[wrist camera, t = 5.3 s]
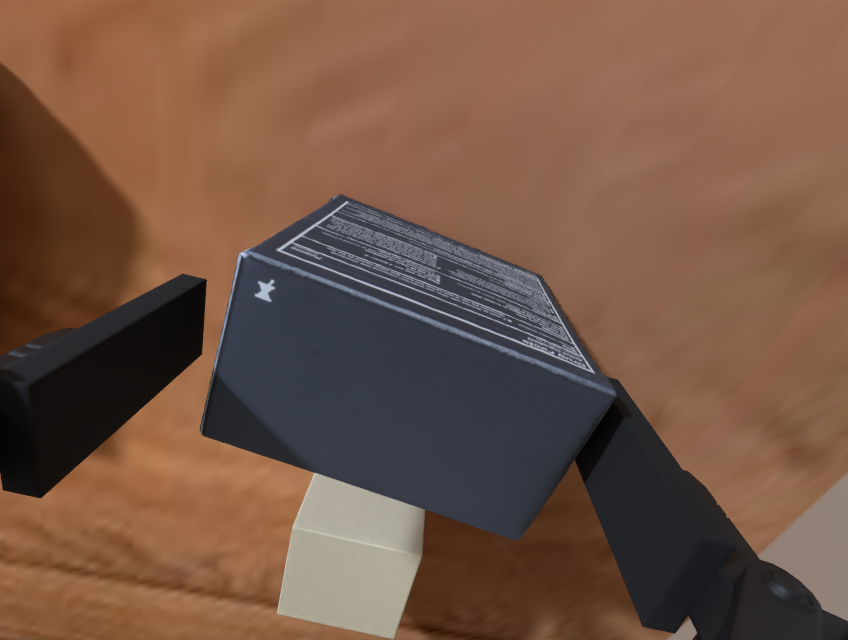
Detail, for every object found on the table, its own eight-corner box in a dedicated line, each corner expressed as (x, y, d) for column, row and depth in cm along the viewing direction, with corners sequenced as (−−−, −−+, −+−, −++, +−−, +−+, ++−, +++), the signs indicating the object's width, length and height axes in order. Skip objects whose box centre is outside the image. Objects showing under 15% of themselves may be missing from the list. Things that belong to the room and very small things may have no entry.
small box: (298, 313, 23) (184, 444, 13) (335, 189, 20) (230, 235, 11) (490, 385, 24) (518, 557, 14) (547, 274, 21) (630, 388, 12)
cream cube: (428, 466, 26) (422, 556, 20) (404, 541, 28) (394, 640, 22) (326, 442, 26) (292, 527, 20) (311, 519, 28) (276, 614, 22)
